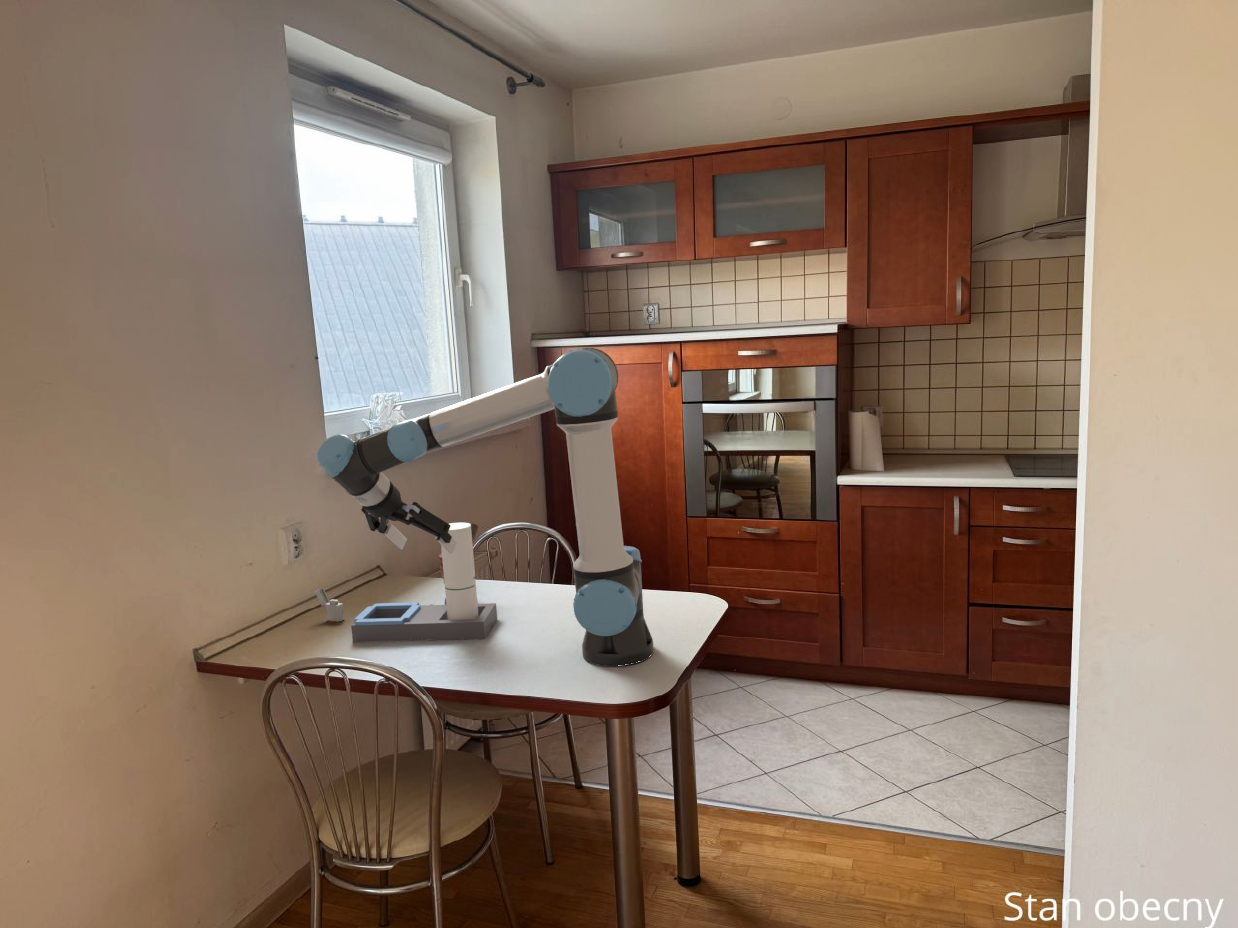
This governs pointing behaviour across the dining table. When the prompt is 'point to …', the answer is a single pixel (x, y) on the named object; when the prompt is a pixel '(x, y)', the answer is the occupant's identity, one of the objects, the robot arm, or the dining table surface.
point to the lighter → (330, 606)
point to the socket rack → (419, 623)
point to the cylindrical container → (460, 575)
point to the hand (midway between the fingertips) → (428, 546)
